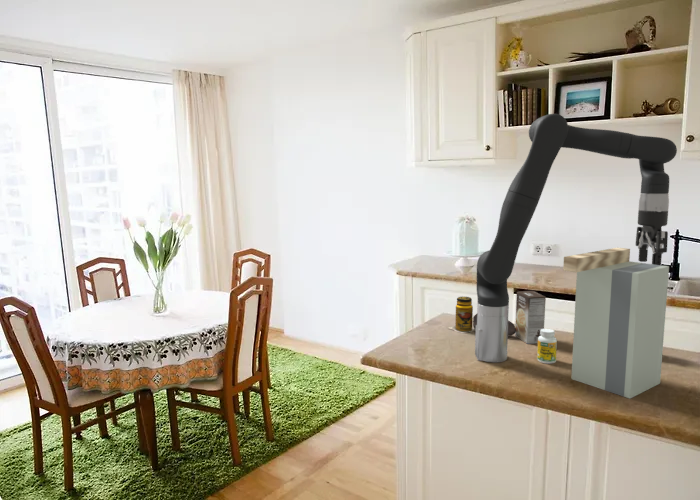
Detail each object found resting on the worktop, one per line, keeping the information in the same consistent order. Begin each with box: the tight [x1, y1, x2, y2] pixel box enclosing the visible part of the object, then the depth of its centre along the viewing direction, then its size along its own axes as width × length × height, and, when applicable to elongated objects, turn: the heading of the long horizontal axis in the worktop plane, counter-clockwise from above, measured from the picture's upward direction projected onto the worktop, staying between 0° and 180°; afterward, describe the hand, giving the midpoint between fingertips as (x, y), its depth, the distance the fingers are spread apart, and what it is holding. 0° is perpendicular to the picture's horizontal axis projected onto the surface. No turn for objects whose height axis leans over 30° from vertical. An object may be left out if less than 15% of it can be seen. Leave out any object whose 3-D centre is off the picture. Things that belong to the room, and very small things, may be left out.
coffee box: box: [514, 290, 547, 345], centre depth 178 cm, size 9×6×16 cm
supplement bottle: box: [536, 328, 558, 365], centre depth 158 cm, size 5×5×10 cm
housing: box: [571, 260, 670, 399], centre depth 140 cm, size 16×16×32 cm
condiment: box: [447, 296, 476, 334], centre depth 191 cm, size 7×8×12 cm
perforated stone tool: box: [472, 313, 516, 337], centre depth 184 cm, size 15×5×7 cm, turn 54°
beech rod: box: [562, 247, 631, 273], centre depth 138 cm, size 26×4×4 cm, turn 125°
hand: (649, 264), depth 154 cm, fingers open, 8 cm apart
